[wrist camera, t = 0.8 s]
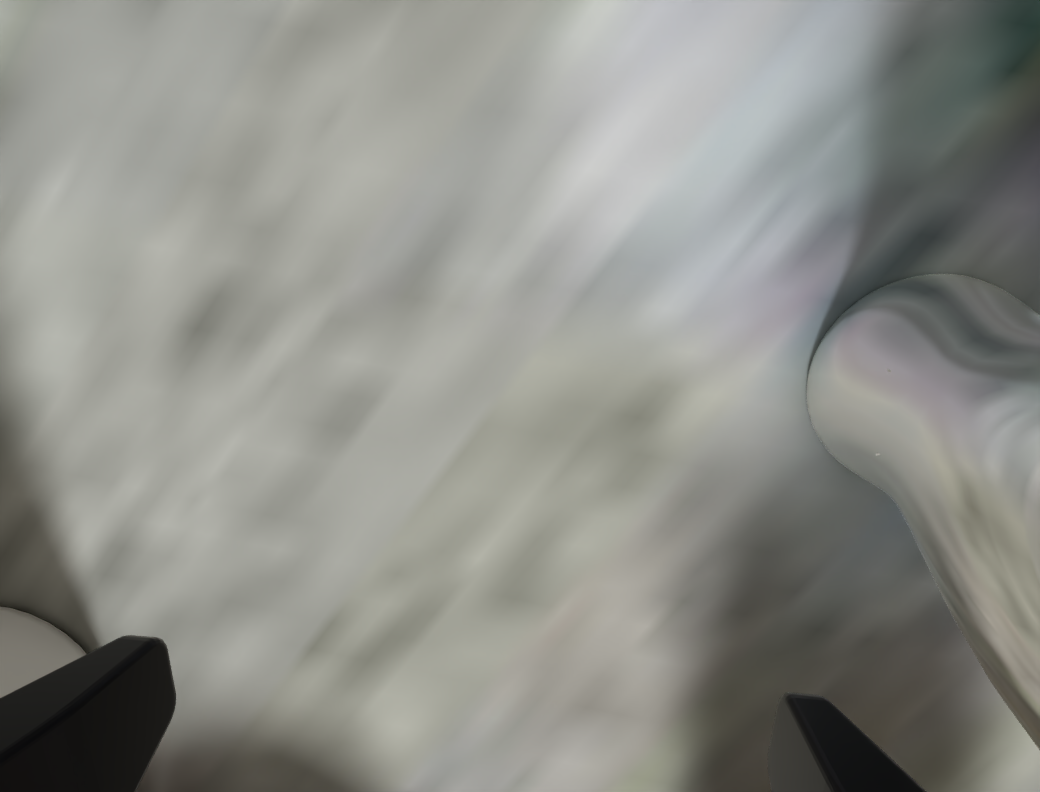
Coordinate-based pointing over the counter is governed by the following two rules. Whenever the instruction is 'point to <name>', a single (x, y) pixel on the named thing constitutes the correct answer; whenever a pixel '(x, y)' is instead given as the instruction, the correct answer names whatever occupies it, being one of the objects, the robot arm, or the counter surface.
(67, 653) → the milk bottle
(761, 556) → the counter surface
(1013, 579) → the beer glass
